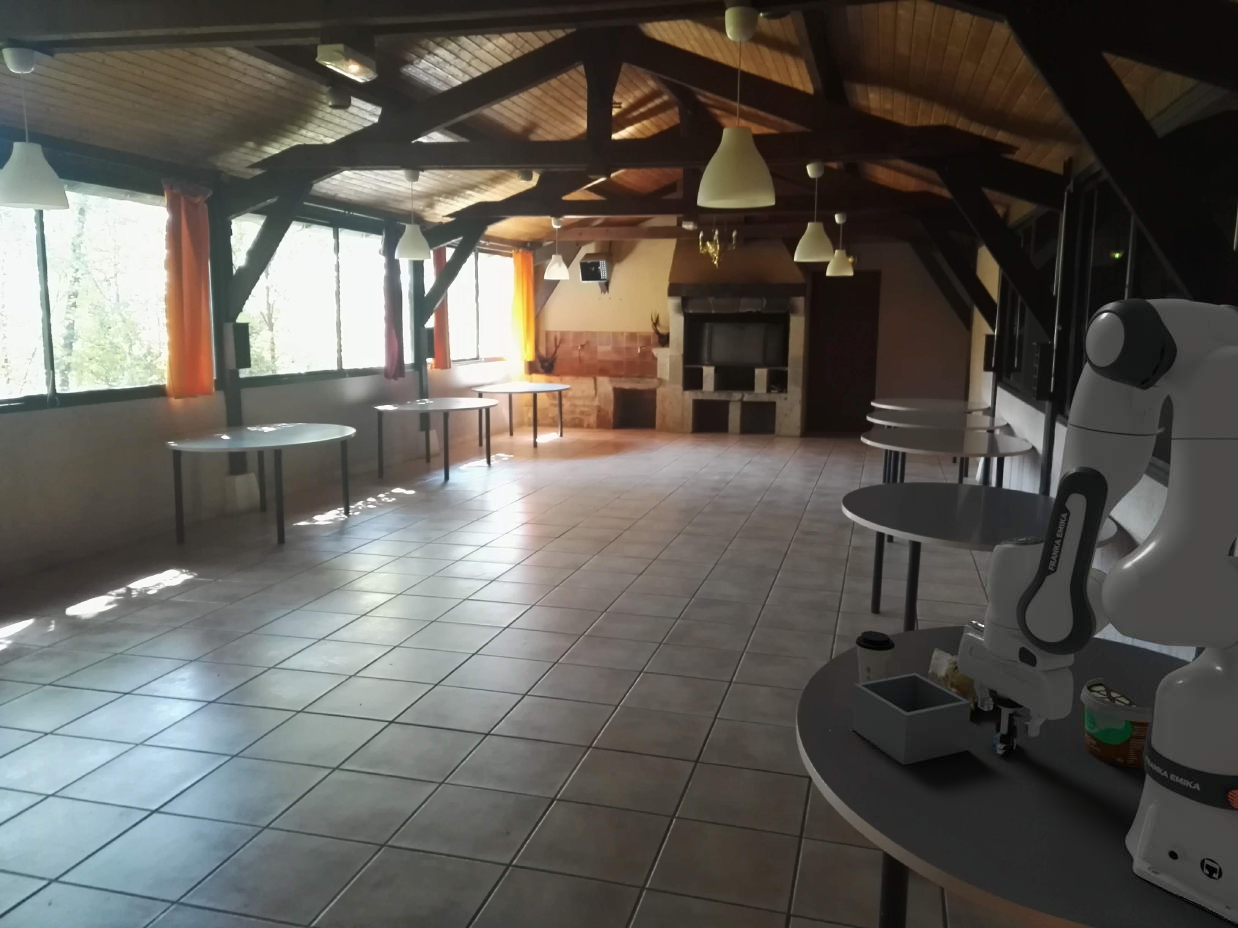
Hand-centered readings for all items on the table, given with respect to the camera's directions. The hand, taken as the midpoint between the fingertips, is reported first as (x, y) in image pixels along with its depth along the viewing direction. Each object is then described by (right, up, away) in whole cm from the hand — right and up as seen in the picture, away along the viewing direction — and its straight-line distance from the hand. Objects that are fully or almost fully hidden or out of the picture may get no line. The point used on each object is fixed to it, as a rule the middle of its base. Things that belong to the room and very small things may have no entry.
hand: (1007, 721), depth 138 cm
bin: (-15, -4, +3) cm, 16 cm away
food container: (+14, -5, -1) cm, 15 cm away
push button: (-1, -5, 0) cm, 5 cm away
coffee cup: (-14, -1, +23) cm, 27 cm away
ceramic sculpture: (0, -2, +18) cm, 18 cm away
